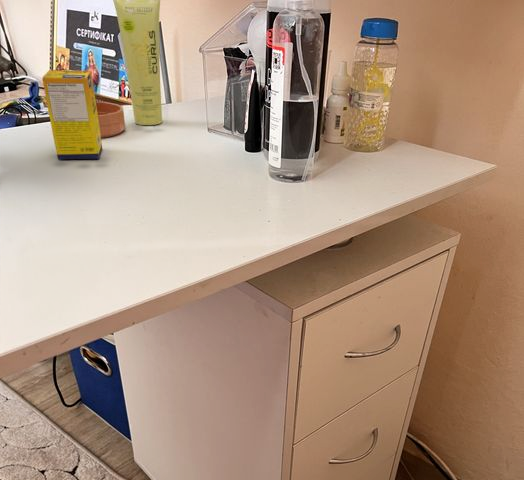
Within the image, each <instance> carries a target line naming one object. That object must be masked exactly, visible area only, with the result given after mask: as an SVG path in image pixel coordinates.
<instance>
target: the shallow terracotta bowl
mask: <svg viewBox="0 0 524 480" xmlns="http://www.w3.org/2000/svg"><path fill="white" fill-rule="evenodd" d="M96 107H97V114H98V121H99V128H100V135H101V139H104V138H109V137H114V136H117V135H120V134H121V133H122V132H123V131H125V130H126V122H125V112H124V106H122V105H120V104H118V103H114V102H108V101H96Z"/></svg>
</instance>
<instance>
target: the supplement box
mask: <svg viewBox="0 0 524 480" xmlns="http://www.w3.org/2000/svg"><path fill="white" fill-rule="evenodd" d="M41 79H42V86H43V91H44V95H45V99H46V105H47V111H48V116H49V121H50V126H51V131H52V137H53V142H54V146H55V152H56V156H57V160H59V161H61V160H89V159H90V160H99V159H100V158H101V153H102V150H103V143H102V138H101V135H100V128H99V121H98V114H97V107H96V95H95V87H94V81H93V74H92V70H90V69H89V70H88V69H87V70H82V69H80V70H79V69H78V70H77V69H76V70H70V69H69V70H66V69H57V70H56V69H48V71H47V72H45V74H44V75H43V76H42V78H41Z"/></svg>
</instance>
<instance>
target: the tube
mask: <svg viewBox="0 0 524 480" xmlns="http://www.w3.org/2000/svg"><path fill="white" fill-rule="evenodd" d="M112 1H113V5H114V8H115V13H116V18H117V23H118V28H119V32H120V37H121V43H122V48H123V54H124V59H125V66H126V72H127V78H128V84H129V91H130V98H131V105H132V106H131V107H132V112H133V113H132V114H133V119H134V123H135V124H137V125H139V126H154V125H160V124H161V123H162V122H163V112H162V109H163V108H162V94H161V93H162V91H161V69H160V66H161V65H160V63H161V62H160V9H161V0H112Z"/></svg>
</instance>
